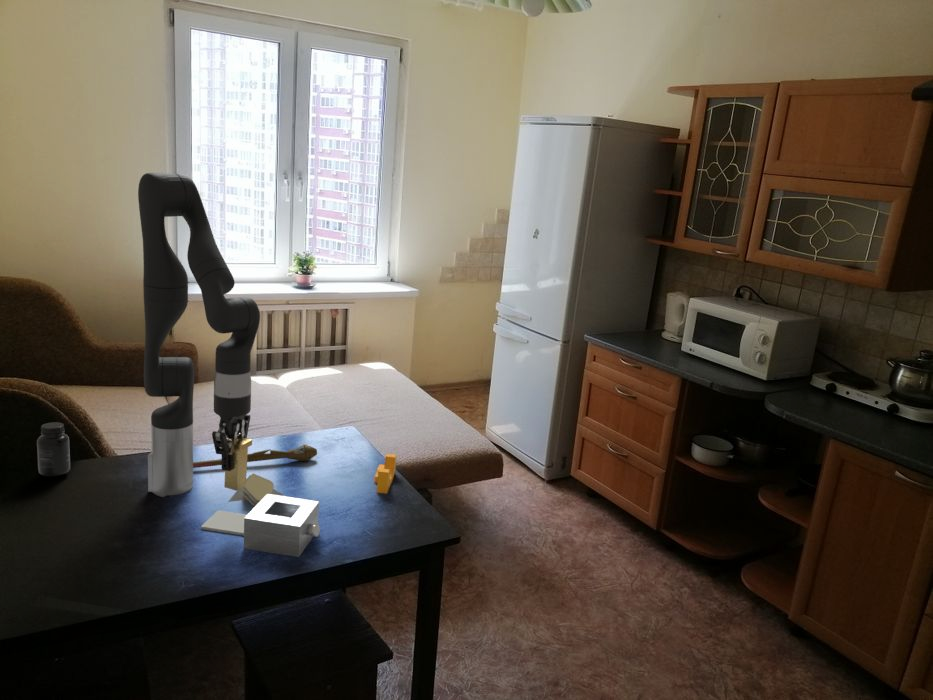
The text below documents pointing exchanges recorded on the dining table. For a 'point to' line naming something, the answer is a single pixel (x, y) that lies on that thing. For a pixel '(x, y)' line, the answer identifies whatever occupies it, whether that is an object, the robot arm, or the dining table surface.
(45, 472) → the supplement bottle
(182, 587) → the dining table surface
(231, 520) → the mat
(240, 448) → the capped wooden post
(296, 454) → the panzerfaust rocket launcher
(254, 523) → the block
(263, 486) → the stacked layers on plate
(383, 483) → the pipe clamp
